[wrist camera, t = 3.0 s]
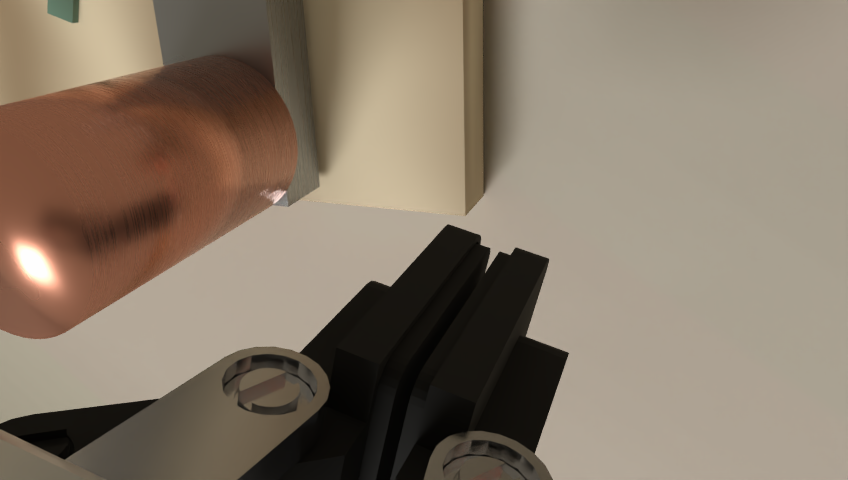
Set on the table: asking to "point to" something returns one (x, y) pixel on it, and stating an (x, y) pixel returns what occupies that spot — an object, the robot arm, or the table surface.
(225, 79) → the lever
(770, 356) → the table surface
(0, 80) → the board
